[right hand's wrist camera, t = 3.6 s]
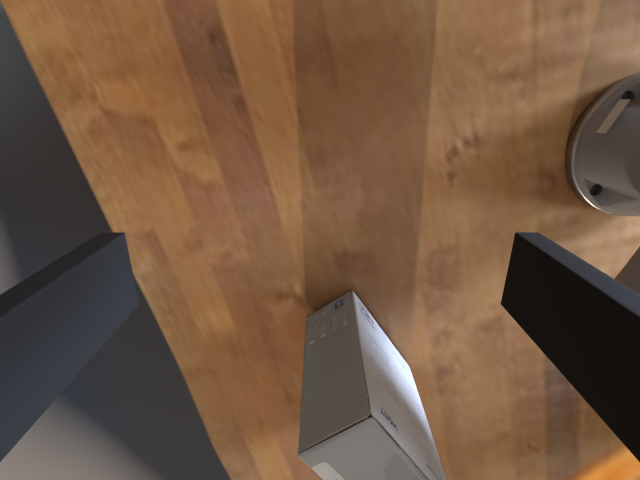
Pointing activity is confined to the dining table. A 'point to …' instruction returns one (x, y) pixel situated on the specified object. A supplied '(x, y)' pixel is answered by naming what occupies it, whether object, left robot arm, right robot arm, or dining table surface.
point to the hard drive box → (361, 402)
